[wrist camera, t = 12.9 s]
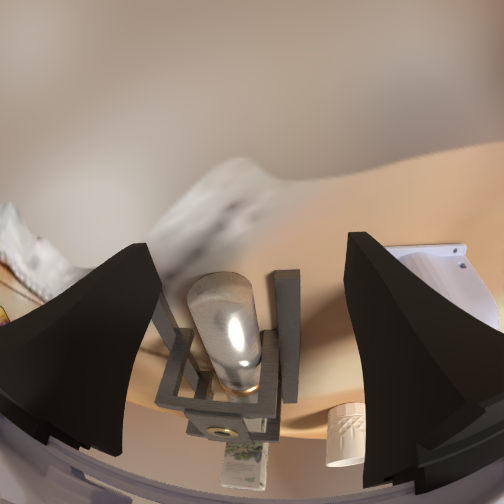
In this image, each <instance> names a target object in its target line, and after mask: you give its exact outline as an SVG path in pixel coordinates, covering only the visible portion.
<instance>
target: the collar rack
mask: <svg viewBox="0 0 504 504" xmlns="http://www.w3.org/2000/svg"><path fill="white" fill-rule="evenodd" d="M274 283H275V295H276V307H277V320H278V330H264V335H263V347H262V358H261V370H260V381H259V391H258V402H257V403H235V402H221V401H210V400H212V399H213V393H212V391H211V390H210V388H211V383H212V378H213V374H212V372H207V371H200V369H199V368H198V366H197V364H196V362H195V360H194V358H193V356H192V354H191V352H190V348H191V344H192V341H193V338H194V333H193V330H192V329H187V328H179V327H178V325H177V323H176V321H175V319H174V317H173V314H172V312H171V310H170V308H169V305H168V303H167V301H166V299H165V296H164V294H163V292H162V289H161V291H160V295H159V298H158V302H157V305H156V308H155V311H154V313H153V316H152V318H151V319H152V321H153V323H154V325H155V327H156V328H157V330H158V332H159V334H160V336H161V337H162V339H163V341H164V343H165V344H166V346H167V348H168V350H169V351H170V355H169V358H168V361H167V364H166V368H165V371H164V374H163V377H162V380H161V383H160V386H159V389H158V393H157V396H156V399H155V402H154V403H155V404H156V405H157V406H158V407H162V408H168V409H173V410H179V411H184V414H185V416H186V417H187V418H188V419H189V422H188V426H187V430H186V433H187V434H188V435H191V436H198V437H205V438H208V439H209V440H212V441H220V442H230V443H242V444H254V442H263V443H279V437H280V419H281V398H282V392H283V403H297V397H298V377H299V349H300V269H299V270H275V271H274ZM279 346H280V361H281V374H278V365H279ZM183 374H184V376H185V378H186V379H187V381H188V382H189V384H190V385H191V387H192V388H193V390H194V391H195V395H194V399H192V398H184V397H177V394H178V391H179V387H180V383H181V380H182V376H183ZM243 417H245V418H267V421H266V433H261V432H249V430H248V428H247V426H246V424H245V422H244V419H243Z"/></svg>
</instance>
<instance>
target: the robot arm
mask: <svg viewBox="0 0 504 504" xmlns="http://www.w3.org/2000/svg"><path fill="white" fill-rule="evenodd" d="M454 249H455V250H454ZM466 251H467V246H466V245H465V244H464V243H460V244H437V245H414V246H391V247H383V246H382V245H381V244H380V243H378V242H377V241H376V240H375V239H374V238H373V237H372V236H370V235H369V234H368V233H367V232H348V241H347V252H346V262H345V271H344V279H343V280H344V287H345V294H346V301H347V306H348V310H349V314H350V318H351V322H352V326H353V330H354V333H355V337H356V342H357V346H358V350H359V354H360V359H361V364H362V371H363V381H364V393H365V414H366V441H365V459H364V471H363V488H369V487H375V486H379V485H384V484H388V483H393V486H392V487H387V488H383V489H378V490H374V491H368V492H363V493H357V494H350V495H342V496H334V497H324V498H309V499H261V498H247V497H236V496H228V495H220V494H213V493H207V492H202V491H196V490H191V489H186V488H182V487H178V486H173V485H169V484H165V483H162V482H158V481H155V480H151V479H148V478H145V477H142V476H139V475H135V474H133V473H130V472H127V471H124V470H122V469H119V468H116V467H114V466H111V465H109V464H106V463H104V462H102V461H99V460H97V459H95V458H93V457H90V456H88V455H86V454H84V453H82V452H80V451H79V448H80V446H81V447H83V448H85V449H87V450H89V449H90V447H92V448H95V449H97V450H99V451H101V452H104V453H106V454H109V455H111V456H114V457H117V456H119V455H120V454H122V429H123V418H124V409H125V401H126V396H127V390H128V385H129V380H130V376H131V372H132V368H133V364H134V361H135V358H136V355H137V352H138V350H139V347H140V345H141V342H142V340H143V337H144V335H145V332H146V330H147V328H148V325H149V323H150V320H151V318H152V316H153V313H154V311H155V308H156V305H157V302H158V298H159V295H160V291H161V287H162V283H161V281H160V278H159V276H158V273H157V271H156V268H155V265H154V263H153V260H152V258H151V255H150V252H149V250H148V247H147V244H146V243H136V244H131V245H130V246H128V247H126V248H124V249H123V250H121V251H120V252H118V253H117V254H115V255H114V256H112V257H111V258H109V259H108V260H107V261H105V262H104V263H103V264H101V265H100V266H98V267H97V268H96V269H94V270H93V271H92V272H90V273H89V274H88V275H86V276H85V277H84V278H82V279H81V280H79V281H78V282H77V283H75V284H74V285H73V286H71V287H70V288H68V289H67V290H66V291H64V292H63V293H61V294H60V295H58V296H57V297H55V298H53V299H52V300H50V301H49V302H47V303H46V304H44V305H42V306H40V307H39V308H37V309H35V310H33V311H31V312H30V313H28V314H26V315H24V316H22V317H20V318H18V319H16V320H14V321H12V322H10V323H7V324H5V325H3V326H0V493H1V495H2V497H3V499H2V498H0V504H132V501H133V500H132V499H131V497H129V496H127V495H125V494H123V493H121V492H118V491H116V490H114V489H111V488H109V487H106V486H103V485H100V484H98V483H95V482H92V481H90V480H87V479H86V478H85V476H84V473H86V474H87V475H89V476H92V477H94V478H96V479H98V480H100V481H102V482H104V483H107V484H109V485H112V486H113V487H116V488H118V489H121V490H123V491H126V492H128V493H131V494H134V495H137V496H139V497H142V498H146V499H148V500H151V501H155V502H158V503H161V504H504V333H502V332H500V331H498V329H499V315H498V309H497V305H496V302H495V300H494V298H493V296H492V294H491V293H490V291H489V290H488V288H487V287H486V285H485V284H484V282H483V281H482V279H481V278H480V276H479V275H478V273H477V272H476V270H475V269H474V268H473V266H472V265H471V263H470V262H469V261H468V259H467V258H466V257H465V254H466ZM83 472H84V473H83Z"/></svg>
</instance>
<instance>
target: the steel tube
mask: <svg viewBox="0 0 504 504" xmlns="http://www.w3.org/2000/svg"><path fill="white" fill-rule="evenodd" d="M187 304H188V307H189V309H190V312H191V314H192V317H193V319H194V322H195V324H196V327H197V329H198V332H199V334H200V337H201V339H202V342H203V344H204V346H205V349H206V351H207V353H208V356H209V358H210V360H211V363H212V365H213V367H214V369H215V372H216V374H217V377H218V380H219V383H220V385H221V387H222V388H223V389H224V391H225V393H226V395H227V397H228V399H229V401H230V402H235V403H257V402H258V391H259V381H260V370H261V358H262V346H261V340H260V334H259V328H258V322H257V315H256V309H255V303H254V297H253V291H252V285H251V283H250V282H249V280H248V279H247V278H245V277H244V276H242V275H240V274H237V273H233V272H218V273H214V274H210V275H207V276H205V277H203V278H201V279H200V280H198V281H197V282H196V283H195V284H194V285H193V286H192V287H191V288H190V290H189V291H188V294H187ZM243 418H245V417H243ZM245 419H256V418H245Z"/></svg>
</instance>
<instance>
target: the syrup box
mask: <svg viewBox="0 0 504 504" xmlns="http://www.w3.org/2000/svg"><path fill="white" fill-rule="evenodd" d="M243 419H244V422H245V424H246V426H247V428H248V430H249V432H261V433H266V421H267V418H256V419H245V418H243ZM268 452H269V443H263V442H254V444H242V443H230V442H226V448H225V454H224V460H223V466H222V472H221V479H220V484H221V485H222V486H224V487H225V488H230V489H240V490H255V491H264V490H265V484H266V474H267V463H268Z"/></svg>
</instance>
